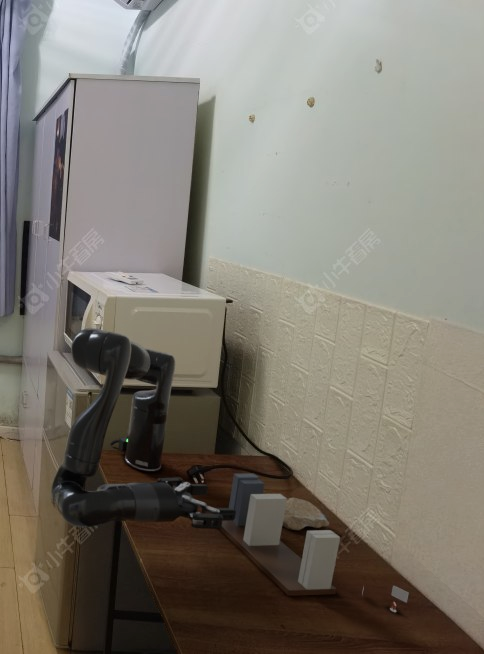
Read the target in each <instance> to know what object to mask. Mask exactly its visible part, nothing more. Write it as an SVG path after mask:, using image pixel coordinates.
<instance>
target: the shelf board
mask: <svg viewBox="0 0 484 654" xmlns="http://www.w3.org/2000/svg"><path fill="white" fill-rule="evenodd" d="M212 523H214V522H212ZM219 530H220V532H222V533H223V534H224V535H225V536H226V537H227V538H228V539H229V540H230V541H231V542H232V543H233V544H234V545H235V546H237V548H238V549H240V551H241V552H243V554H244V555H245V556H246V557H247V558H248V559H249V560H250V561H252V562H253V563H254V565H256V566H257V567H258V569H260V570H261V571H262V572H263V573H264V574H265V575H266V576H267V577H268V578H269V579H270V580H271V581H272V582H273V583H274V584H275V585H277V587H278V588H280V590H281V591H282V592H283V593H285V594H286V595H287V597H296V596H297V597H298V596H321V595H323V596H324V595H336V593H337V588H336V586H334V585H333V584H331V588H330V589H311V590H307V589H306V588H305V587H303V585H301V584H300V583H299V582H298V578H299V572H300V567H301V561H302V558H301V557H300V556H299V555H298V554H297V553H296V552H294V551H293V550H292V549H291V548H289V546H287V545H286V544H285V543H284V542H283V541H282V540H280V542H279V545H260V546H249V545H248V544H247V543H246V542H245V541H244V540H243V539H244V532H245V526H237V525H236V524H235V523H234V522H233V521H222V527H221V529H219Z"/></svg>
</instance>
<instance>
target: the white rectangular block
mask: <svg viewBox="0 0 484 654" xmlns="http://www.w3.org/2000/svg"><path fill="white" fill-rule="evenodd" d="M287 499H288V497H286V496H284V495H283V494H282V493H263V494H251V495H250V502H249V508H248V514H247V520H246V526H245V532H244V539H243V540H244V541H245V542H246V543H247V544H248V545H249V546H260V545H279V542H280V541H281V535H282V529H283V519H284V513H285V507H286V502H287Z"/></svg>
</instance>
